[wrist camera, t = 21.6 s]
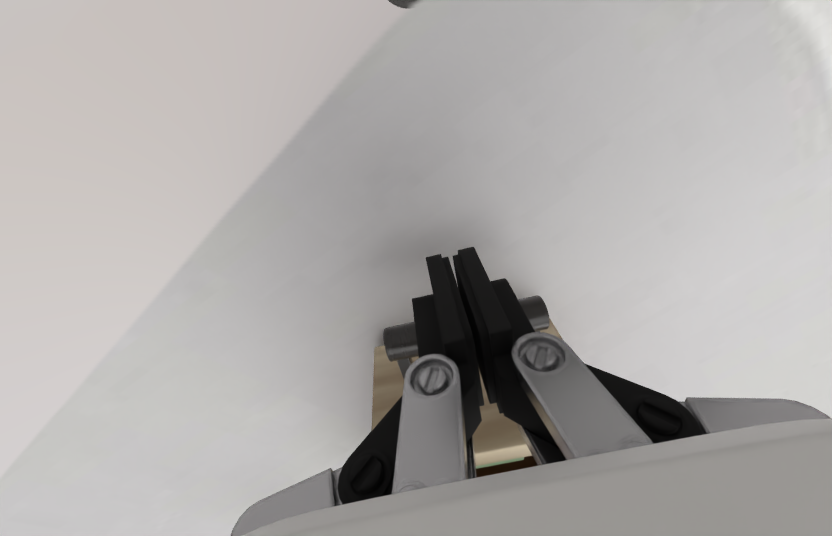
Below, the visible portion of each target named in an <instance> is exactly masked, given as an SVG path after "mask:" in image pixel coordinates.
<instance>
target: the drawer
mask: <svg viewBox="0 0 832 536" xmlns="http://www.w3.org/2000/svg"><path fill="white" fill-rule="evenodd" d="M518 301H519V303H520V305H521V307H522V308H523V310H524V312H525V314H526V316H527V318H528V319H529V321H530V323H531V325H532V327H533V329H534V330H535V332H544V333H548V334H552V335H554V336H557V337H559V338H561V336H560V334H559V333H558V331H557V329H556V328H555V326H554V325H553V323H552V321H551V320H550V318H549V315H548V311H547V308H546V305H545V303H544V301H543V300H542V298H541V297H540V296H533V297H528V298H523V299H519V300H518ZM383 338H384V345H383V346H378V347H375V348H374V376H373V406H372V430H373V429H374V428H375V427H376V425H377V424H378V423H379V422H380V421H381V420H382V418H383V417H384V416H385V415H386V414H387V413H388V411H389V410H390V409H391V408H392V407H393V406H394V404H395V403H396V402H397V401H398V400H399V399H400V397H401V396H402V395H403V387H404V378H405V374H406V371H407V369H408V368H409V366H410V365H411V364H412V363H413V362H414V361H415V360H417V359H418V358H419V355H418V347H417V338H416V330H415V322H411V323H407V324H402V325H397V326H393V327H388V328H385V329H384V332H383ZM561 339H562V338H561ZM562 340H563V339H562ZM479 374H480V370H479ZM480 380H481V386H482V392H483V398H484V406H480V412H481V418H482V421H481V423H480V424H479V426H478V428H477V429H476V431H475V432H474V434H473V439H474V449H475V461H476V466H479V465H484V464H490V463H495V462H500V461H505V460H511V459H516V458H521V457H524V460H520V461H515V462H509V463H504V464H499V465H493V466H488V467H483V468H477V469H476V474H477V477H483V476H488V475H493V474H498V473H503V472H508V471H514V470H519V469H524V468H529V467H534V466H538V465H537V464H536V462H535V460H534V458H533V456H532V454H531V452H530V450H529V449H528V447H527V445H526V443H525V441H524V439H523V437H522V435H521V433H520V432H519V429H518V426H517V423H516V422H514V421H512V420H510V419H509V418H507V417H505V416H504V414H503V413H501V414H500V413H499V410H498V407H497V404H496V403H493V404H490V403H489V400H488V397H487V393H486V390H485V387H484V384H483V380H482V377H481V374H480Z"/></svg>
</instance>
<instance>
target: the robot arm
mask: <svg viewBox="0 0 832 536" xmlns="http://www.w3.org/2000/svg"><path fill="white" fill-rule="evenodd" d="M426 261H427V266H428V271H429V276H430V280H431V285H432V290H433V294H432V295H427V296H423V297H418V298H414V299H412V304H413V312H414V321H415V330H416V338H417V347H418V355H419V358H418V359H417V360H415V361H414V362H413V363H412V364H411V365H410V366H409V368H408V369H407V371H406V374H405V378H404V387H403V395H402V396H401V397H400V399H399V400H398V401H397V402H396V403H395V404H394V406H393V407H392V408H391V409H390V410H389V411H388V413H387V414H386V415H385V416H384V417H383V418H382V420H381V421H380V422H379V423H378V424H377V425H376V427H375V428H374V429H373V430H372V431H371V432H370V434H369V435H368V436H367V437H366V438H365V439H364V441H363V442H362V443H361V444H360V445H359V446H358V448H357V449H356V450H355V451H354V452H353V453H352V454H351V456H350V457H349V458H348V460H347V461H346V463H345V464H344V465H343V467H341V468H339V469H337V470H335V471H332V469H331V468H330V469H328V470H325V471H323V472H321V473H319V474H317V475H315V476H312V477H310V478H308V479H306V480H304V481H301V482H299V483H297V484H295V485H293V486H290V487H288V488H286V489H284V490H282V491H279V492H277V493H275V494H273V495H271V496H268V497H266V498H264V499H262V500H260V501H258V502H256V503H255V504H253V505H252V506H250V507H249V508H248V509H247V510H246V511H245V512H244V513H243V514H242V515H241V517H240V518H239V519H238V521H237V523H236V525H235V526H234V528H233V530H232V533H231V536H832V419H831V418H830V417H829V416H828V415H826V414H824V413H822V412H820V411H819V410H817V409H815V408H813V407H811V406H808V405H806V404H803V403H800V402H797V401H792V400H785V399H756V398H686V400H685V402H678V401H676V400H674V399H672V398H670V397H668V396H666V395H664V394H661V393H659V392H656V391H654V390H651V389H649V388H646V387H643V386H641V385H638V384H636V383H633V382H630V381H628V380H625V379H623V378H620V377H618V376H615V375H612V374H610V373H607V372H605V371H602V370H599V369H597V368H594V367H592V366H589V365H587V364H584V363H583V362H582V361H581V359H580V358H579V357H578V356H577V355H576V354H575V353H574V351H573V350H572V349H571V348H570V347H569V346H568V345H567V344H566V343H565V342H564V341H563V340H562V339H561V338H559V337H557V336H554V335H552V334H548V333H544V332H535V330H534V329H533V327H532V325H531V323H530V321H529V319H528V318H527V316H526V314H525V312H524V310H523V308H522V307H521V305H520V303H519V301H518V299H517V298H516V296H515V294H514V292H513V290H512V288H511V287H510V285H509V283H508V281H507V280H506V279H505V278H504V279H499V280H495V281H490V280H489V278H488V276H487V274H486V272H485V270H484V267H483V265H482V263H481V261H480V259H479V257H478V255H477V253H476V250H475V248H474V247H470V248H466V249H462V250H458V255H454V256H453V261H454V267H455V273H456V278H457V283H456V280H455V277H454V274H453V271H452V268H451V265H450V261H449V258H448V257H445V258H442V256H441V254H440V255H435V256H431V257H426ZM457 284H458V286H457ZM479 370H480V374H481V377H482V380H483V384H484V387H485V390H486V393H487V397H488V400H489V403H490V404H493V403H496V404H497V407H498V410H499V413H500V414H501V413H503V414H504V416H505V417H507V418H509V419H510V420H512V421H514V422H516V423H517V426H518V429H519V432H520V433H521V435H522V437H523V439H524V441H525V443H526V445H527V447H528V449H529V450H530V452H531V454H532V456H533V458H534V460H535V462H536V464H537V465H538V466H534V467H529V468H524V469H519V470H514V471H508V472H503V473H498V474H493V475H488V476H483V477H477V474H476V461H475V449H474V439H473V434H474V432H475V431H476V429H477V428H478V426H479V424H480V423H481V421H482V418H481V412H480V406H484V398H483V392H482V386H481V380H480V374H479Z"/></svg>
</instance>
